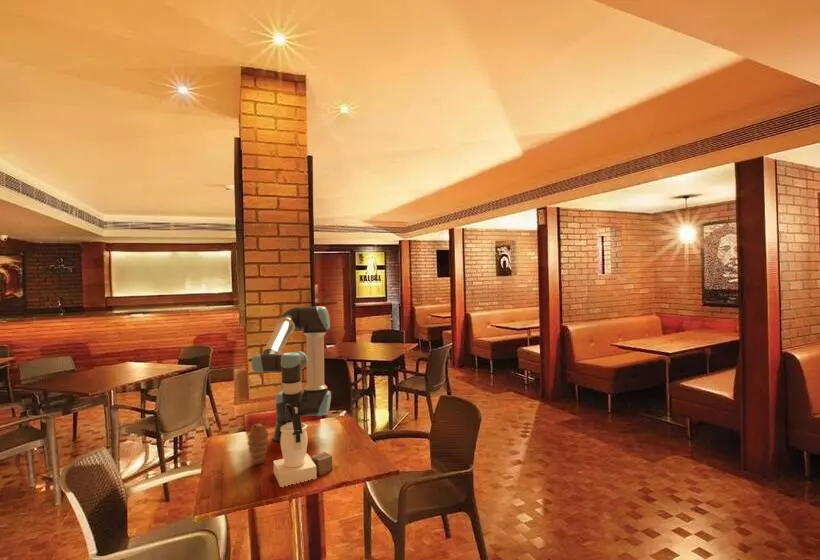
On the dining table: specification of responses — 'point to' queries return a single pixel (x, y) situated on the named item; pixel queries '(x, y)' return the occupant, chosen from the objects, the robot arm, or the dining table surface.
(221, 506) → the dining table surface
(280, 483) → the cream block
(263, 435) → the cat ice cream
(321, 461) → the walnut cube
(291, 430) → the jar
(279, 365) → the robot arm
